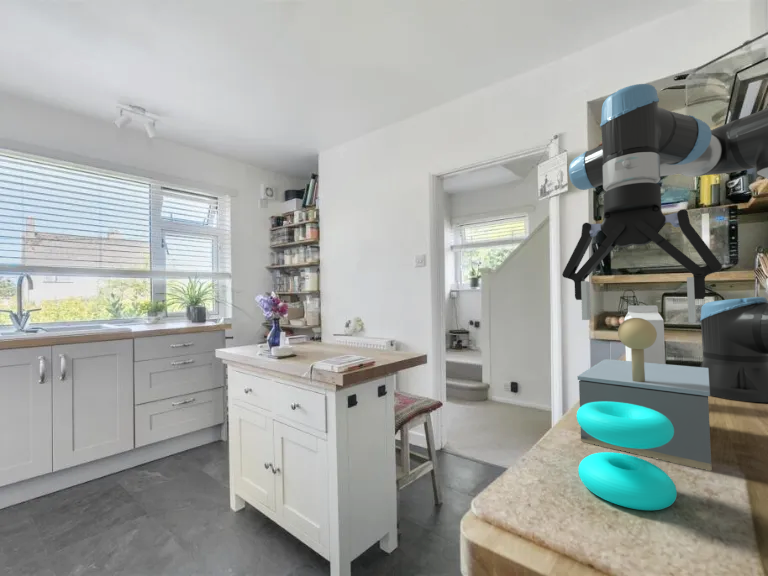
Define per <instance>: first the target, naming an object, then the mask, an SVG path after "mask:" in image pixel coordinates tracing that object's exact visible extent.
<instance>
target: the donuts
mask: <svg viewBox="0 0 768 576" xmlns="http://www.w3.org/2000/svg"><path fill="white" fill-rule="evenodd" d="M576 421H577V424H578V425H579V426H580V429H581V428H582V429H583V430H584V431H585V432H587V433H588V434H589V435H591V436H593V437H594V438H596V439H598V440H601V441H603V442H606V443H609V444H612V445H616V446H621V447H626V448H635V449H649V448H656V447H660V446H662V445H665V444H666V443H668V442H669V441H670V440H671V439H672V437H673V435H674V427H673V425H672V423H671V421H670V420H669V419H668V418H667V417H666V416H664V415H663V414H661V413H659V412H657V411H655V410H652V409H650V408H646V407H643V406H639V405H634V404H628V403H621V402H608V401H599V402H591V403H587V404H584V405H582V406H581V407H580V406H579V408H578V410H577V411H576ZM577 469H578V471H577V472H578V476H579V479H580V480H581V483H582V484H583V486H585V487H586V489H588V490H589V491H590V492H591V493H593V494H594V495H596V496H597V497H599V498H601V499H602V500H605V501H607V502H609V503H611V504H614V505H618V506H620V507H624V508H628V509H633V510H638V511H659V510H660V511H661V510H664V509H666V508H668V507H671V506H672V505H673V504H674V503H675V502H676V499H677V497H678V492H677V491H678V490H677V487H676V484H675V483H674V481H673V479H672V478H671V477H670V476H669V475H668V473H667V472H665V471H664V470H663V469H662V468H660V467H659V466H657V465H655V464H654V463H651V462H649V461H648V460H645V459H643V458H641V457H638V456H633V455H630V454H625V453H620V452H612V451H609V452H608V451H603V452H602V451H601V452H594V453H592V454H589V455H587V456H586V457H584V458H583V459H581V461H580V462H579V465H578V468H577Z"/></svg>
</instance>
